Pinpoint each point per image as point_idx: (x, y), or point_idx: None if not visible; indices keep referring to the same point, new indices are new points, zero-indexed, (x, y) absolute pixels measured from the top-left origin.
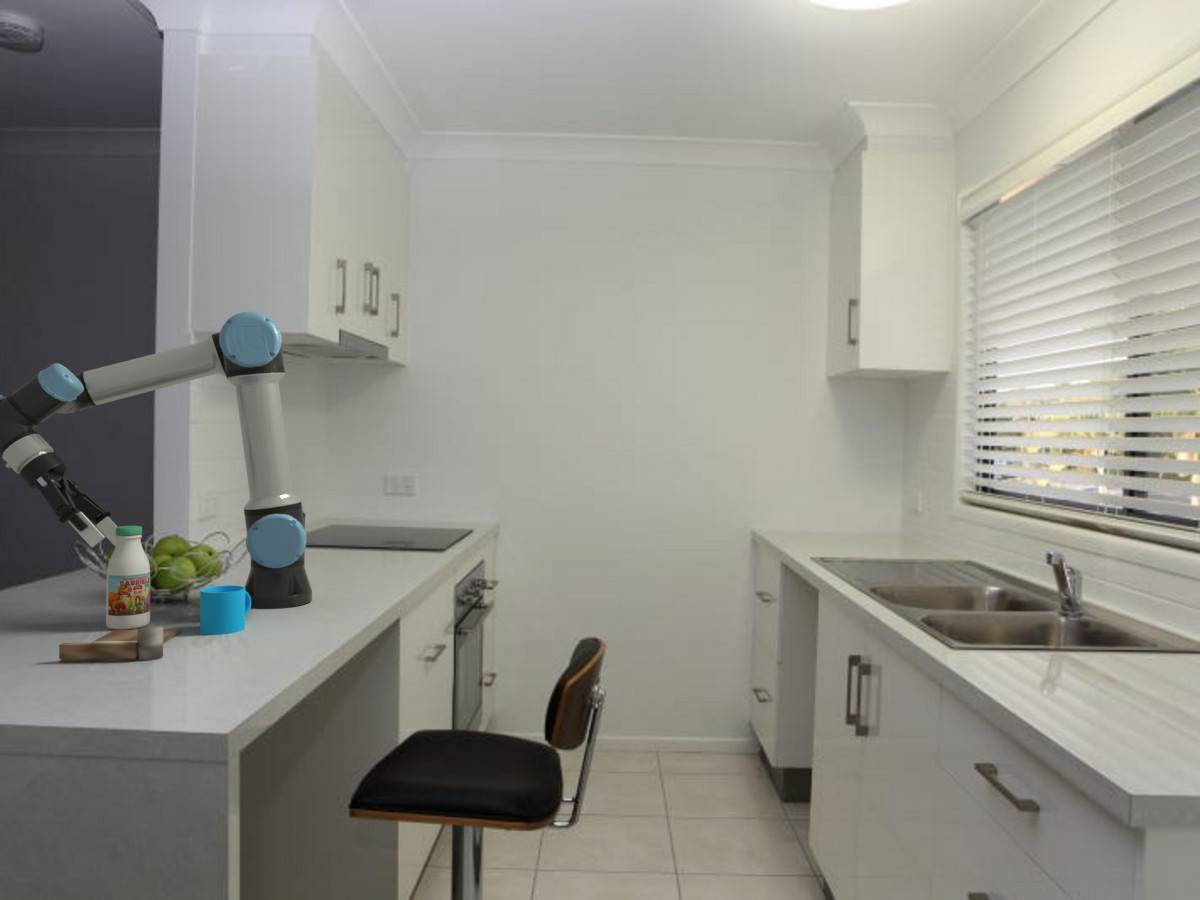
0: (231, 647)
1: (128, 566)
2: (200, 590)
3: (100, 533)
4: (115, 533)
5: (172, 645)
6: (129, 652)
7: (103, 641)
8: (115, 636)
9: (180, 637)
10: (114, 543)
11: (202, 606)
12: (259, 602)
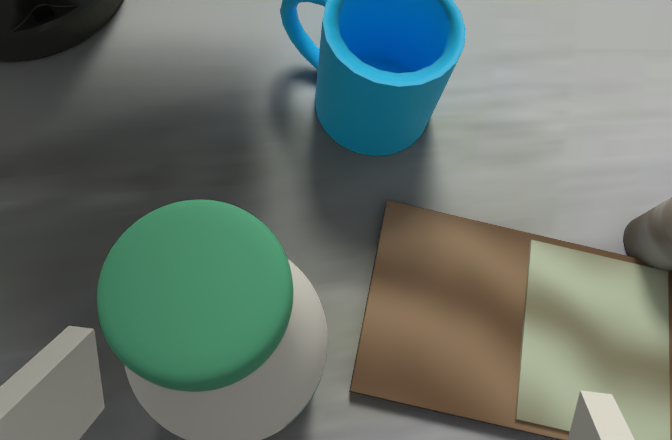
0: (568, 80)
1: (323, 319)
2: (407, 85)
3: (619, 420)
4: (33, 427)
5: (532, 207)
6: None
7: (521, 388)
8: (445, 369)
9: (444, 197)
10: (77, 431)
11: (423, 107)
12: (104, 6)
